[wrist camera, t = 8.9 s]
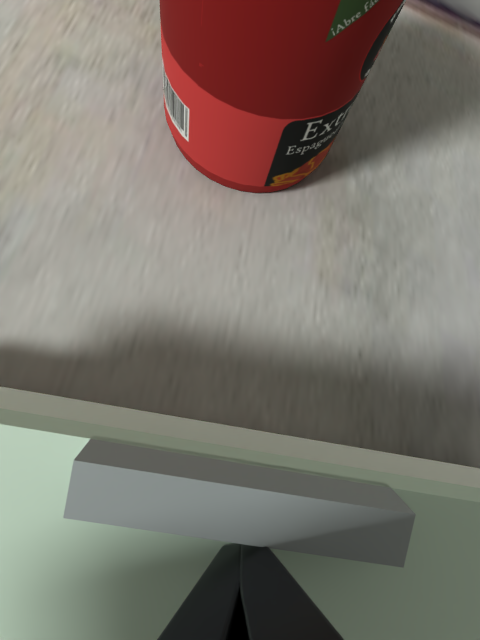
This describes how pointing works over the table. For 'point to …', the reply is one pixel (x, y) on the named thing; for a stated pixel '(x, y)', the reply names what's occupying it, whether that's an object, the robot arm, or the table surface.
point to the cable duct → (235, 437)
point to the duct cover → (219, 534)
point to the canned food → (265, 82)
